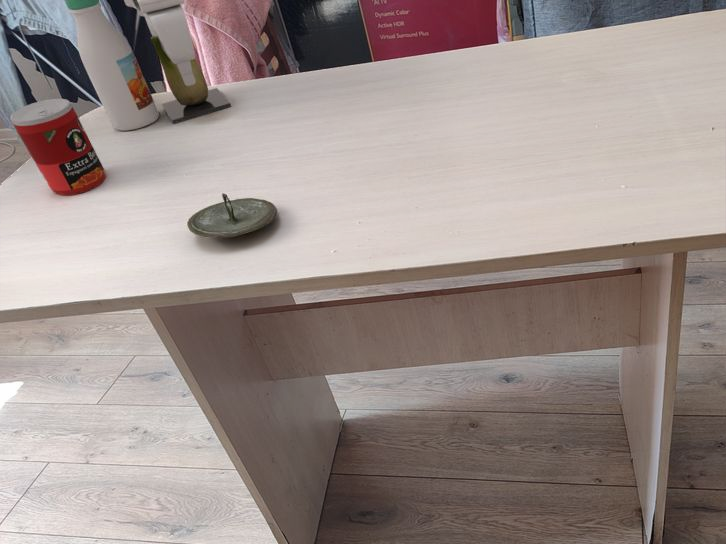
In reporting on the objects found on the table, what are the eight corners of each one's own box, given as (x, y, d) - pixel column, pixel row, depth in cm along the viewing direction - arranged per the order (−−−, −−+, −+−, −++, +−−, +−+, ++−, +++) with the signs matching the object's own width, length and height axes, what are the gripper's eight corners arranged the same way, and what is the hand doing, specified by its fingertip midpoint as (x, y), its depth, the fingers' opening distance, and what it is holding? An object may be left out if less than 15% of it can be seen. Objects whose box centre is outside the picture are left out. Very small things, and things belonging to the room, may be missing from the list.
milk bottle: (131, 134, 111) (70, 2, 97) (104, 128, 114) (41, 0, 101) (169, 115, 115) (115, -13, 102) (142, 110, 119) (86, -15, 106)
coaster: (173, 123, 112) (171, 120, 112) (162, 107, 119) (161, 103, 119) (231, 106, 115) (230, 102, 115) (218, 91, 122) (216, 87, 122)
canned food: (81, 198, 94) (39, 122, 87) (39, 194, 97) (-5, 120, 90) (119, 172, 99) (82, 98, 92) (78, 169, 102) (40, 97, 95)
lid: (188, 262, 80) (169, 232, 76) (206, 203, 86) (189, 172, 82) (274, 257, 80) (260, 227, 75) (287, 198, 85) (275, 167, 81)
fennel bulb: (178, 111, 114) (148, 37, 107) (177, 102, 118) (148, 29, 110) (213, 103, 115) (185, 29, 108) (211, 94, 119) (184, 21, 111)
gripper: (120, -19, 111) (156, 67, 120) (139, 3, 97) (177, 99, 106) (159, -27, 113) (191, 58, 122) (183, -8, 99) (217, 87, 108)
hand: (185, 77), depth 114 cm, fingers open, 7 cm apart
